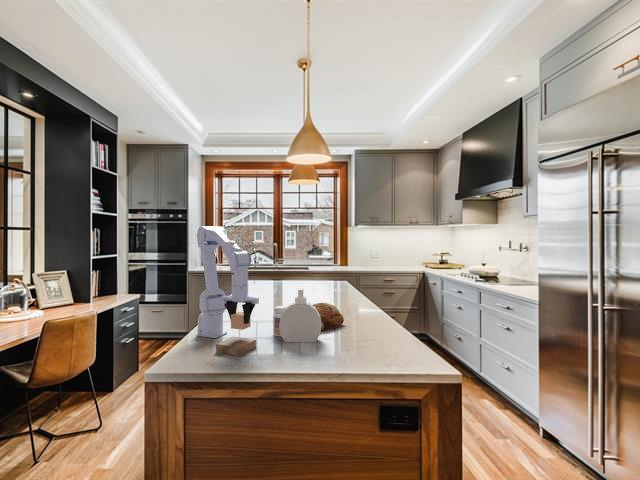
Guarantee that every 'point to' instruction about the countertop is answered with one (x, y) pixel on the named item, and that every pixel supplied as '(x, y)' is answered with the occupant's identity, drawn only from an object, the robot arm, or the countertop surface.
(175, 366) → the countertop surface
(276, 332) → the pill bottle
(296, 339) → the soap bottle
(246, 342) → the walnut base
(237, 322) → the terracotta block
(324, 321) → the bread
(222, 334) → the robot arm
